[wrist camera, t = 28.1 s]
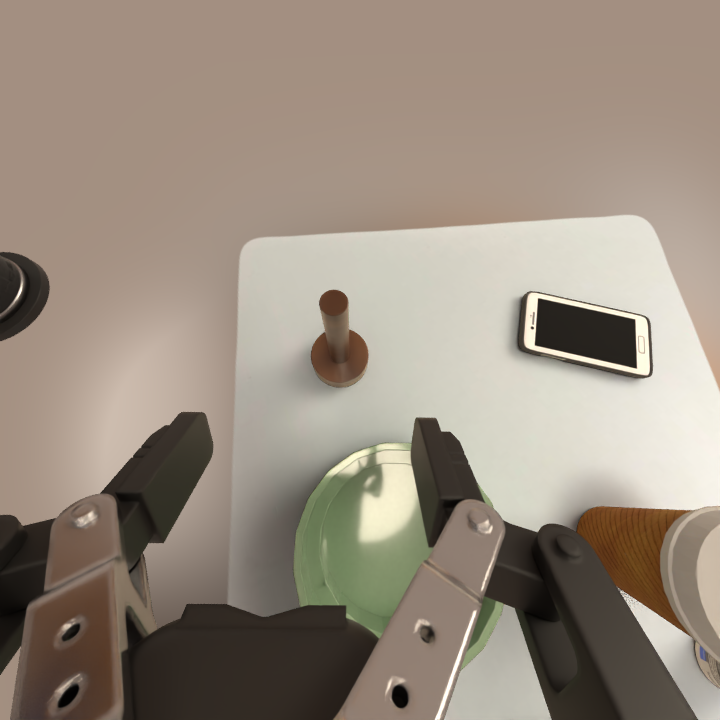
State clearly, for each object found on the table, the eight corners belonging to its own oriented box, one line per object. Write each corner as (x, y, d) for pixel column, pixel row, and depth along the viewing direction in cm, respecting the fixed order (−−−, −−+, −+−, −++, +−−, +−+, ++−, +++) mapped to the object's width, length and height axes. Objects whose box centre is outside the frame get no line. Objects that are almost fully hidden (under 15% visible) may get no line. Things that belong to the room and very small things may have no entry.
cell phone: (646, 381, 34) (654, 379, 33) (516, 351, 35) (521, 348, 34) (643, 319, 37) (651, 316, 36) (521, 292, 37) (526, 288, 36)
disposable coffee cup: (639, 623, 28) (842, 743, 16) (543, 557, 29) (668, 625, 18) (670, 526, 30) (865, 570, 19) (580, 469, 32) (711, 478, 20)
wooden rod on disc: (321, 394, 33) (301, 353, 20) (307, 344, 35) (281, 275, 21) (374, 378, 34) (389, 330, 20) (358, 330, 35) (363, 256, 22)
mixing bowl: (331, 664, 26) (325, 729, 20) (288, 472, 31) (273, 477, 24) (501, 597, 28) (544, 638, 22) (438, 425, 32) (459, 419, 26)
